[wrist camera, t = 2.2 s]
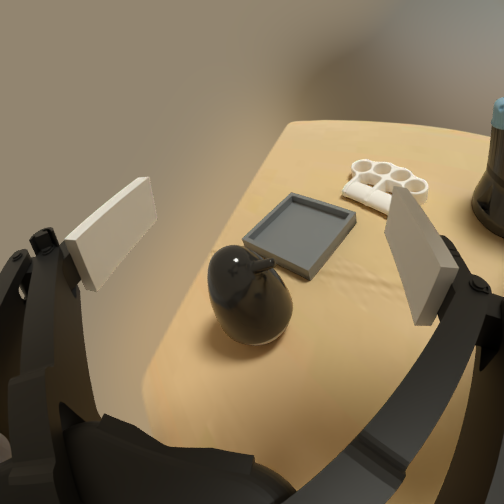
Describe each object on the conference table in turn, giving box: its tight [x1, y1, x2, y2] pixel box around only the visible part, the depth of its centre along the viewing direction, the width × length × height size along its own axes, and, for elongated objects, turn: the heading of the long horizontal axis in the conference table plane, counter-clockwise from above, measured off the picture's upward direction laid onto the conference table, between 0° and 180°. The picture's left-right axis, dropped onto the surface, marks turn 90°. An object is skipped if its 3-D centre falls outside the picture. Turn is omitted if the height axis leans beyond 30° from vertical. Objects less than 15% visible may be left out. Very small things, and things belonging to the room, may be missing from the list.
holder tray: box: [242, 192, 357, 281], centre depth 50 cm, size 15×15×2 cm
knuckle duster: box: [342, 159, 428, 216], centre depth 51 cm, size 3×18×15 cm
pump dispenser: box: [207, 245, 293, 345], centre depth 35 cm, size 10×10×15 cm
